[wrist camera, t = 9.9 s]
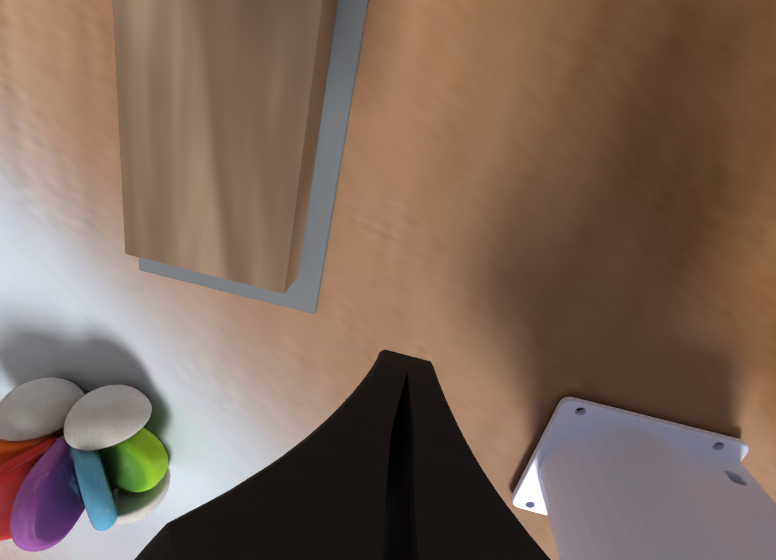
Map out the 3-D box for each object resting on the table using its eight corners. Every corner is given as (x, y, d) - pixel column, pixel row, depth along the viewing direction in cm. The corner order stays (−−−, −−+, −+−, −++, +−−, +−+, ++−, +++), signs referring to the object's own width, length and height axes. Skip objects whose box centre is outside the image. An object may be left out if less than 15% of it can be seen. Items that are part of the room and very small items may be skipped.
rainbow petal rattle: (20, 360, 24) (-139, 458, 17) (176, 377, 23) (73, 487, 17) (60, 466, 27) (-60, 581, 21) (197, 484, 27) (119, 609, 20)
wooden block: (328, -50, 12) (107, -104, 12) (284, 293, 17) (125, 253, 17) (344, -29, 14) (154, -75, 15) (300, 273, 19) (158, 238, 19)
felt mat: (383, -92, 14) (383, -95, 14) (315, 312, 20) (314, 313, 20) (127, -154, 14) (123, -157, 14) (141, 268, 20) (139, 269, 20)
